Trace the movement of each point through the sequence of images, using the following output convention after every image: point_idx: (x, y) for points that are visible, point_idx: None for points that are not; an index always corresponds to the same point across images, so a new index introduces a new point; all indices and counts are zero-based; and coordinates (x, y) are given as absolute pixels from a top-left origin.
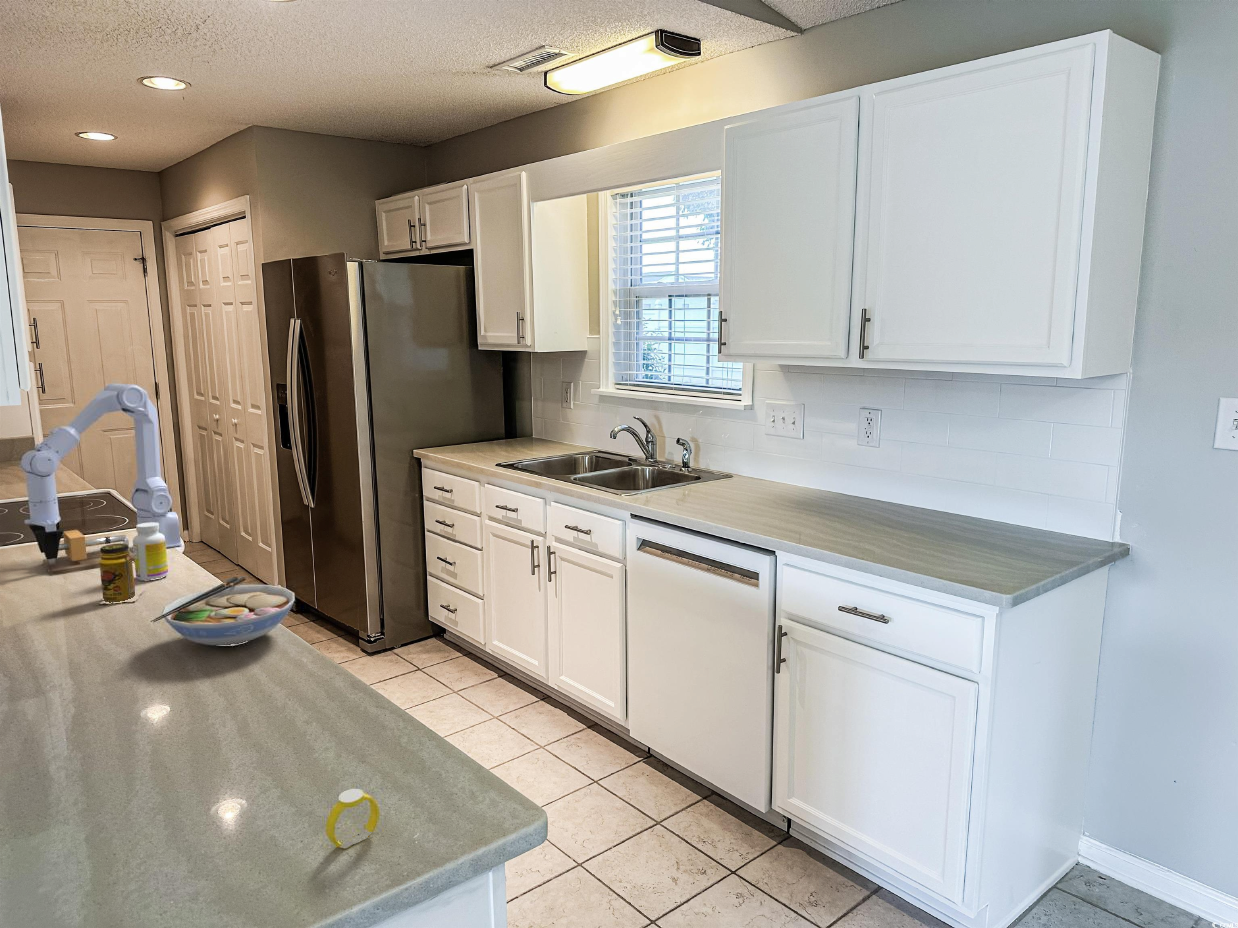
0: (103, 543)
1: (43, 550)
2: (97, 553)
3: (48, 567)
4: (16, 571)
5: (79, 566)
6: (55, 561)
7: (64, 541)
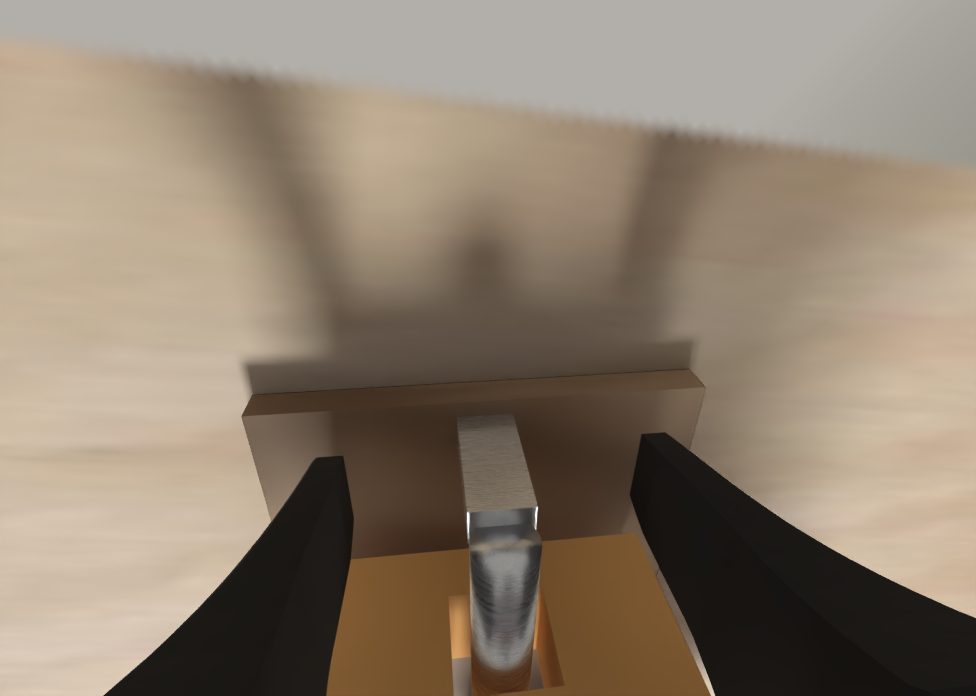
0: None
1: (315, 516)
2: None
3: (441, 397)
4: (597, 171)
5: None
6: (570, 450)
7: (652, 635)
